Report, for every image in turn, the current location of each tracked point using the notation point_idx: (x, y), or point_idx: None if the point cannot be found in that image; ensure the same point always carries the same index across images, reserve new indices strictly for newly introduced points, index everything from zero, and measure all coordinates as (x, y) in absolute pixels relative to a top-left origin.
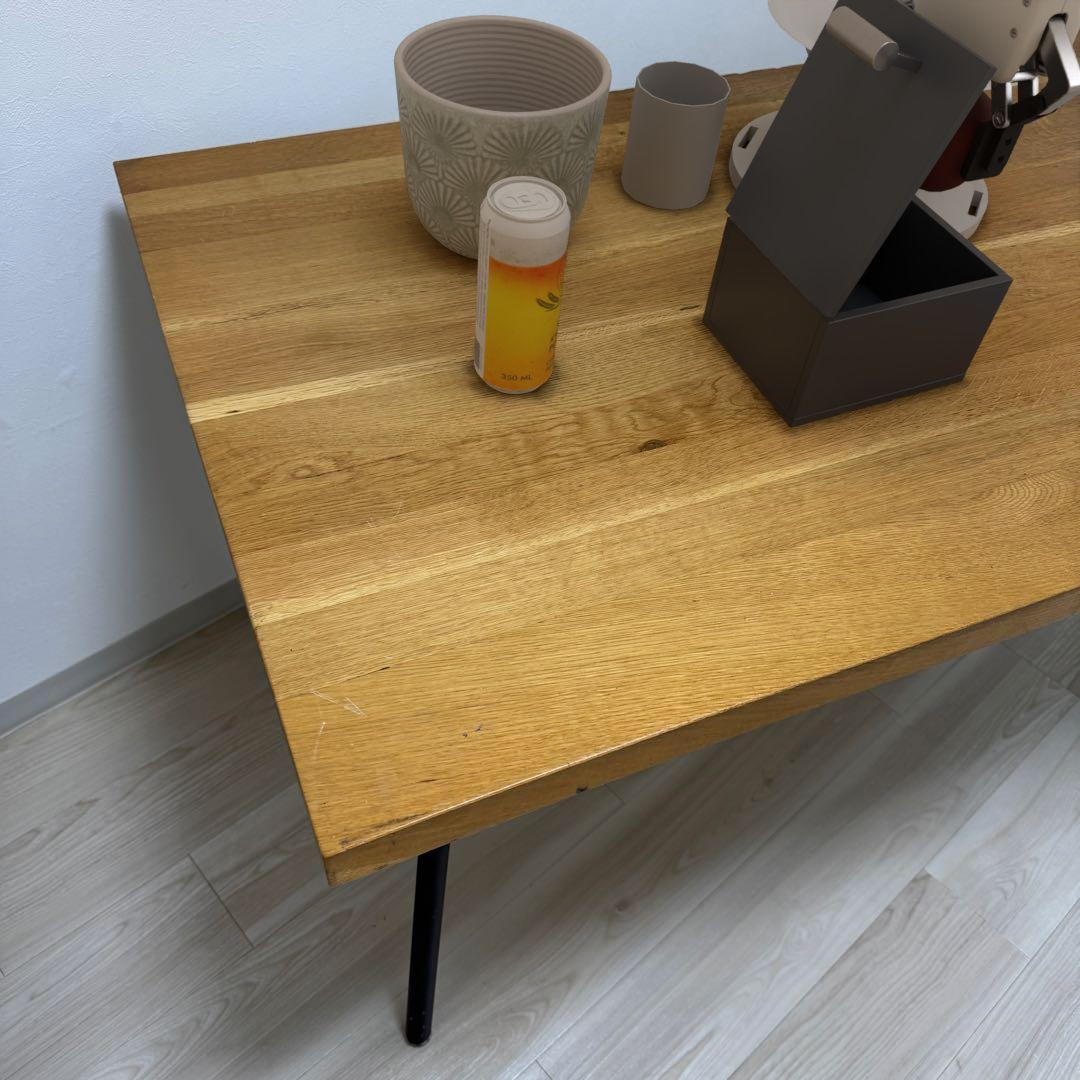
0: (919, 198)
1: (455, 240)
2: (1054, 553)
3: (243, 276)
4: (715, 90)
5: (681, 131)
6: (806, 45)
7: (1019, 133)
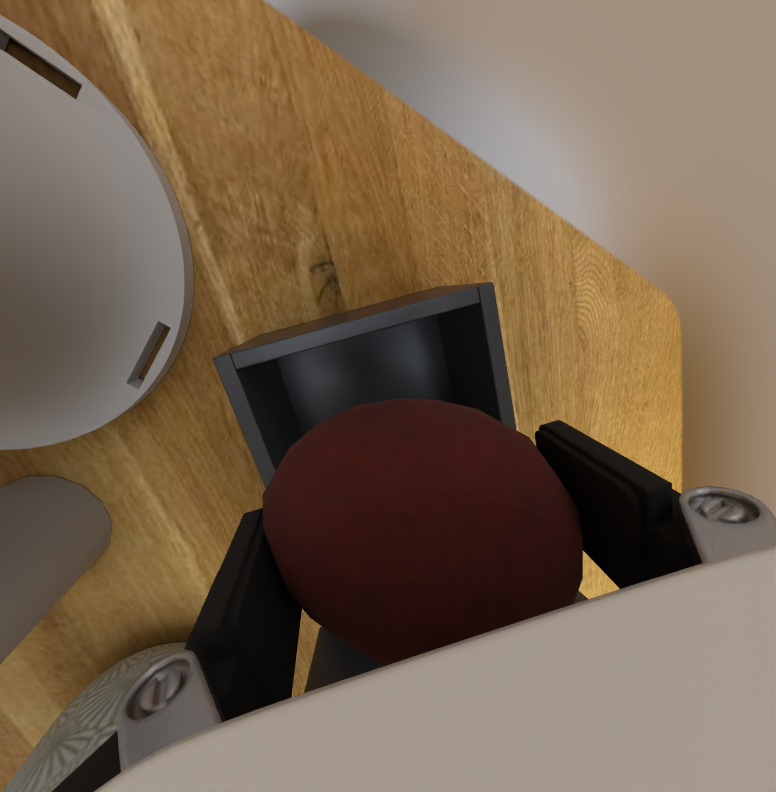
0: (81, 208)
1: None
2: (653, 303)
3: None
4: None
5: (31, 611)
6: None
7: (679, 496)
